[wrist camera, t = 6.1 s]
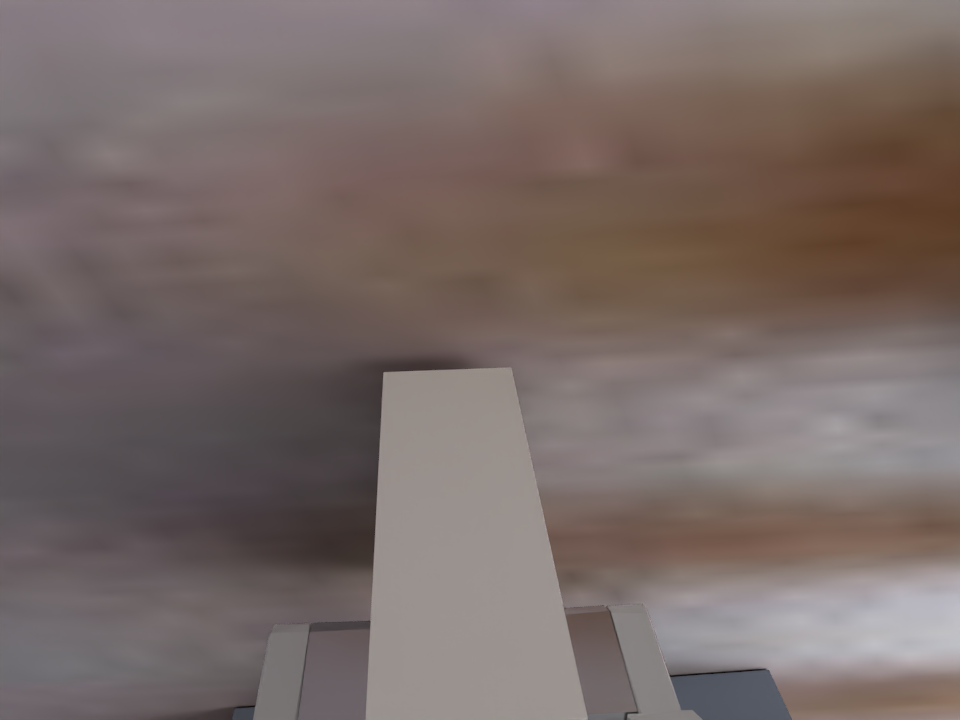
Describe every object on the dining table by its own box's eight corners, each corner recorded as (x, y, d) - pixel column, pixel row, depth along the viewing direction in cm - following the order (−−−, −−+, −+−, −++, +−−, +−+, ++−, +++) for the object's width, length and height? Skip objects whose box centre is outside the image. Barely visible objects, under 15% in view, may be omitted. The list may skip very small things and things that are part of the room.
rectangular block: (383, 372, 12) (364, 734, 7) (511, 367, 12) (588, 718, 7) (399, 594, 14) (394, 976, 9) (504, 588, 15) (555, 962, 9)
